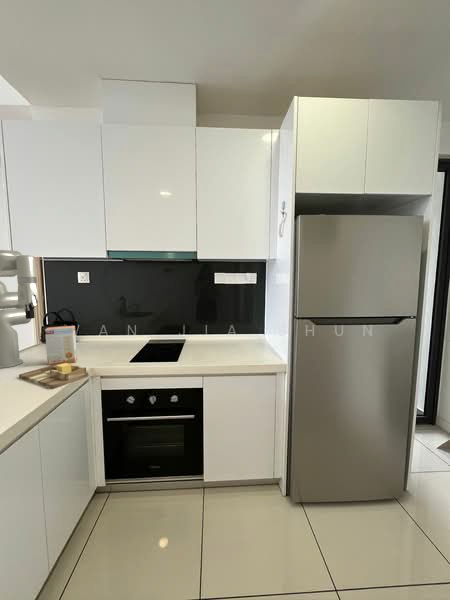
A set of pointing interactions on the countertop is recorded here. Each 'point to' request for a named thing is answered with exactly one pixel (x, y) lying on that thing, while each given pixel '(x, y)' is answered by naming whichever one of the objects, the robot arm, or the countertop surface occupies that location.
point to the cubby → (67, 376)
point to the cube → (64, 368)
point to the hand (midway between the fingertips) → (30, 318)
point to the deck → (47, 377)
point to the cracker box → (61, 345)
